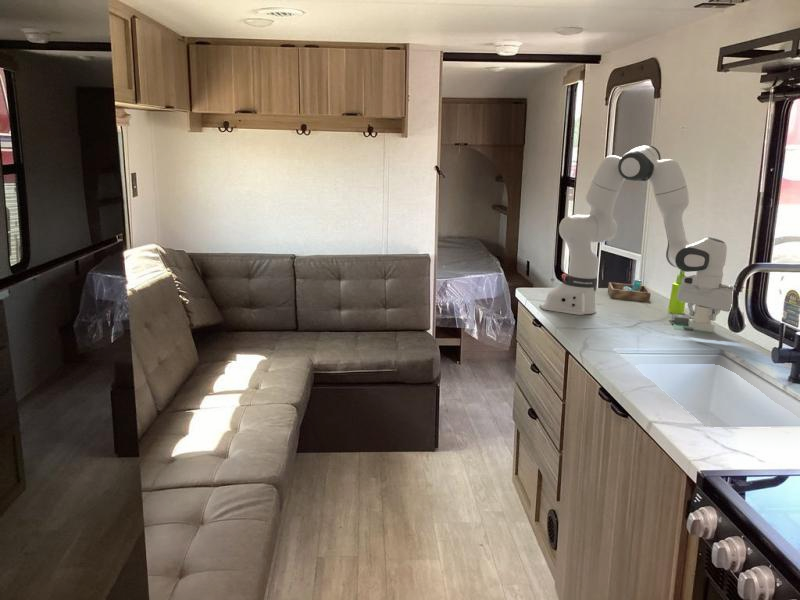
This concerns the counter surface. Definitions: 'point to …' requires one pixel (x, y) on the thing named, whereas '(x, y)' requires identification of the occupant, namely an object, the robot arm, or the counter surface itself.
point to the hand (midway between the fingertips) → (702, 317)
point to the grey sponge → (679, 319)
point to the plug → (702, 314)
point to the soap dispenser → (674, 304)
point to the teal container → (634, 286)
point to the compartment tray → (695, 327)
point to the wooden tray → (628, 292)
